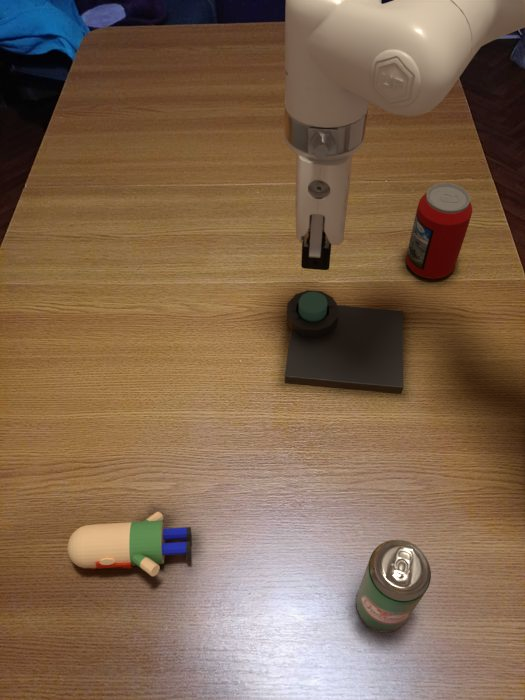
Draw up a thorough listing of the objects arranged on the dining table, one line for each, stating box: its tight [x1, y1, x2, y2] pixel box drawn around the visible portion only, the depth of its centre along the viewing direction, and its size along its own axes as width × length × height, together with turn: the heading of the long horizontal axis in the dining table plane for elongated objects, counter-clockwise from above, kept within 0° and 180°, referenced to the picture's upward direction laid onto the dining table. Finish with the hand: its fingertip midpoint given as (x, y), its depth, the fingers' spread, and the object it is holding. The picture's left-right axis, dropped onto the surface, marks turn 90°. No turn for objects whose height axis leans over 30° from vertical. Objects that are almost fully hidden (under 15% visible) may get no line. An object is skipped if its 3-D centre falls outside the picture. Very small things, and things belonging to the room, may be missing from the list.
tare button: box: [298, 292, 328, 322], centre depth 77 cm, size 4×4×2 cm
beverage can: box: [405, 182, 473, 279], centre depth 81 cm, size 7×7×12 cm
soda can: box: [355, 539, 432, 633], centre depth 54 cm, size 5×5×12 cm
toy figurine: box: [66, 511, 193, 577], centre depth 61 cm, size 8×4×12 cm
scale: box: [284, 289, 404, 395], centre depth 77 cm, size 15×13×3 cm
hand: (315, 263), depth 71 cm, fingers closed
